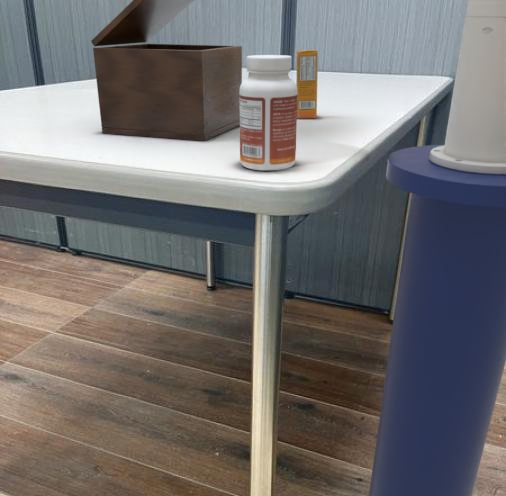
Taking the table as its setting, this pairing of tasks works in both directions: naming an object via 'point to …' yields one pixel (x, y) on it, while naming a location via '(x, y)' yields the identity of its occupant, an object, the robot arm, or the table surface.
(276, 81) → the pill bottle
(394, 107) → the table surface
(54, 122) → the table surface
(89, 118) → the table surface
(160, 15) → the lid
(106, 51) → the chest
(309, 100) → the supplement box
